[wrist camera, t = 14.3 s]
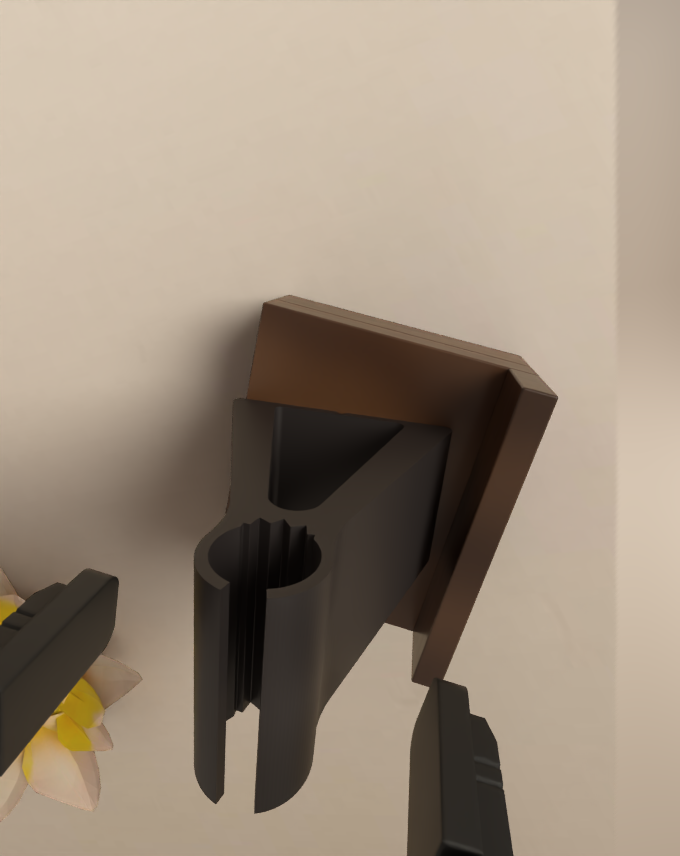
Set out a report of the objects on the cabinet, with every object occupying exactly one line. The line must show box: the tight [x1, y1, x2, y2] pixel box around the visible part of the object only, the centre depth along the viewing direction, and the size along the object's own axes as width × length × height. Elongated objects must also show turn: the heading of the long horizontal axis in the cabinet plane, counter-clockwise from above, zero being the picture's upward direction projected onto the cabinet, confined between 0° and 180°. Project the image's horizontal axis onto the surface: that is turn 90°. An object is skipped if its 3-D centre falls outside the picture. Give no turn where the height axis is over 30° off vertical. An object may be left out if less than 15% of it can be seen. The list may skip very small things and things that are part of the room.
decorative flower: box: [0, 568, 142, 822], centre depth 29 cm, size 15×11×10 cm
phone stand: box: [194, 398, 452, 814], centre depth 16 cm, size 9×6×12 cm, turn 84°
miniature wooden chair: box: [226, 295, 558, 687], centre depth 22 cm, size 13×11×7 cm
